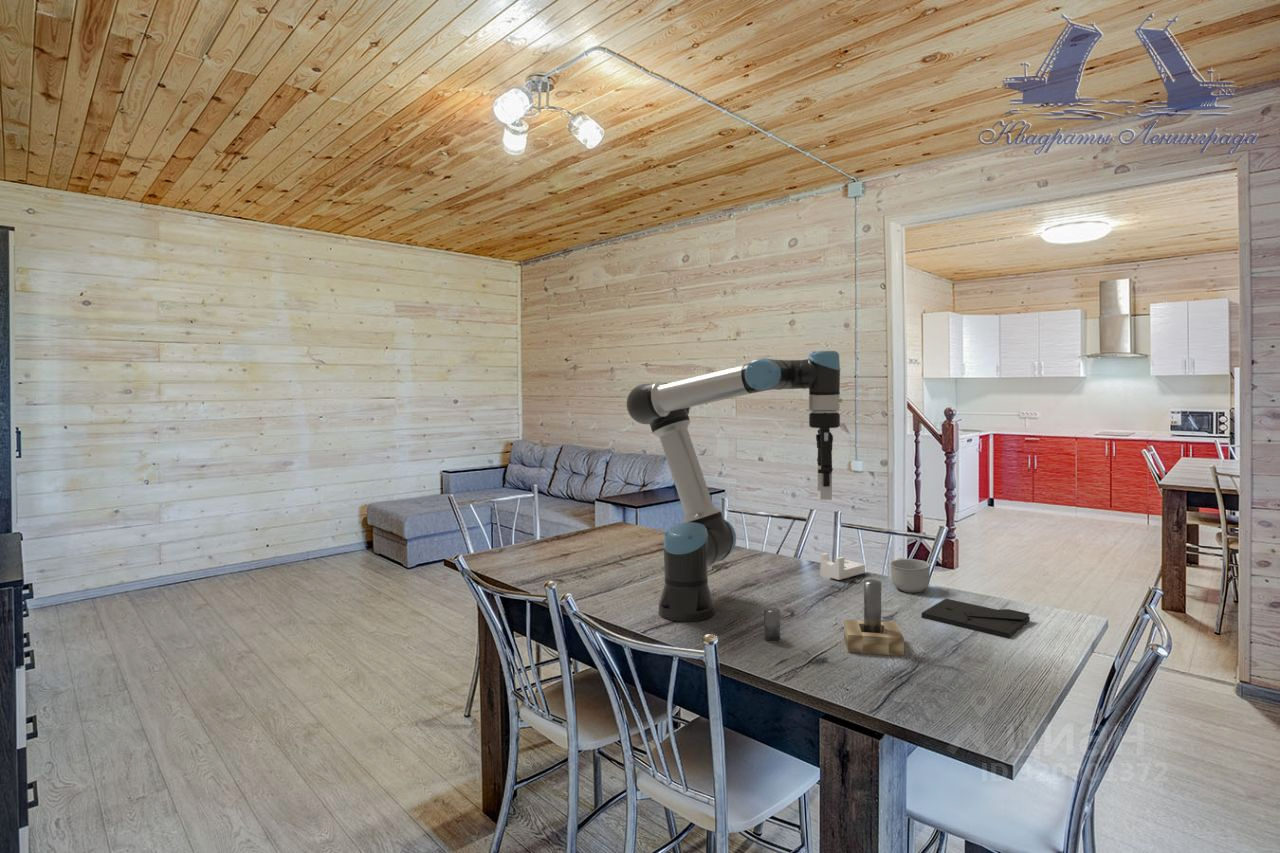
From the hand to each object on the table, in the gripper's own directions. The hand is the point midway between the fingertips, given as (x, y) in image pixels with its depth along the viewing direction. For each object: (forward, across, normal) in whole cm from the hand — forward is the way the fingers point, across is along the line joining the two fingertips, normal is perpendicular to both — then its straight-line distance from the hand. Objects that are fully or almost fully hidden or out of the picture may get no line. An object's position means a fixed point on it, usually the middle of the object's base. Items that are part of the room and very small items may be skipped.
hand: (824, 495), depth 169 cm
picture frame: (+34, +7, -38) cm, 51 cm away
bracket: (+33, +42, -8) cm, 54 cm away
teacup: (+33, +32, -26) cm, 53 cm away
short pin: (+33, -15, +13) cm, 38 cm away
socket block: (+33, -15, -10) cm, 37 cm away
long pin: (+33, -15, -10) cm, 37 cm away
